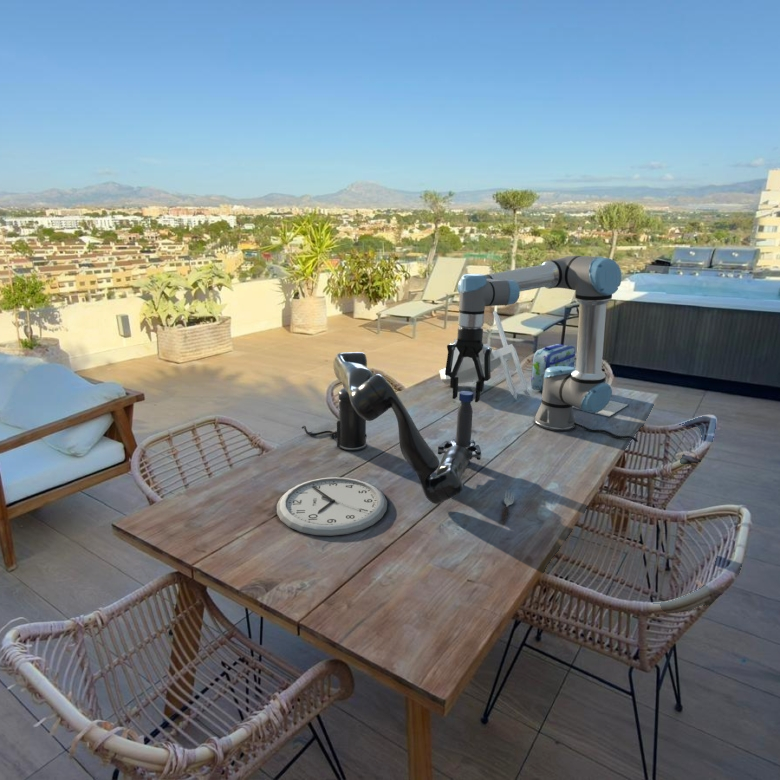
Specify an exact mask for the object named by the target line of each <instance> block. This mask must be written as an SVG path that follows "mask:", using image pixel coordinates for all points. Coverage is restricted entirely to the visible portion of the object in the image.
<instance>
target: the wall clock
mask: <svg viewBox="0 0 780 780" xmlns="http://www.w3.org/2000/svg"><path fill="white" fill-rule="evenodd" d="M387 509H388V500H387V498H386V496H385V494H384V493H383V492H382V491H381V490H380V489H379V488H377V487H376V486H374V485H372V484H371V483H369V482H365V481H362V480H359V479H355V478H349V477H338V476H337V477H335V476H333V477H332V476H331V477H322V478H317V479H312V480H307V481H305V482H302V483H299V484H297V485H295V486H293V487H292V488H290V489H288V490H287V491H286V492H285V493H284V494H283V495H281V496H280V498H279V499H278V502H277V503H276V515H277V517H278V518H279V520H280V521H281V522H282V523H283V524H285V525H286V526H287V527H288V528H290V529H293V530H295V531H297V532H299V533H303V534H308V535H312V536H327V537H328V536H329V537H331V536H332V537H333V536H342V535H350V534H352V533H356V532H361V531H363V530H366V529H368V528H369V527H372V526H373V525H375V524H376V523H378V522H379V521H380V520H381V519H382V518H383V517H384V516H385V514H386V512H387Z"/></svg>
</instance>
